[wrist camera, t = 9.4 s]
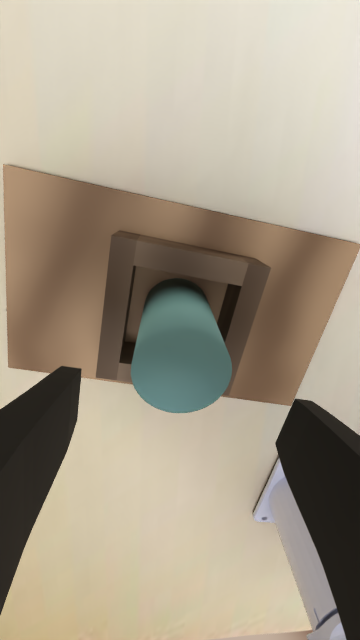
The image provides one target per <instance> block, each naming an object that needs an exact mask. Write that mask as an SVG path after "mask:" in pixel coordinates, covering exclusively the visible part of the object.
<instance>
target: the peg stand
mask: <svg viewBox="0 0 360 640" xmlns="http://www.w3.org/2000/svg"><path fill="white" fill-rule="evenodd" d="M3 181H4V219H5V258H6V297H7V336H8V367H9V368H16V369H23V370H31V371H38V372H46V373H52V372H53V371H55V370H56V369H57V368H59V367H60V366H67V367H74V368H81V369H82V370H81V377H82V378H90V379H97V380H104V381H112V382H119V383H127V384H133V383H132V378H131V364H132V360H133V355H134V350H135V346H136V341H137V336H138V332H139V327H140V322H141V318H142V313H143V308H144V304H145V300H146V297H147V295H148V293H149V292H150V291H151V289H152V288H153V287H154V286H156V285H157V284H158V283H160V282H162V281H164V280H167V279H172V278H181V279H186V280H189V281H191V282H193V283H195V284H196V285H197V286H199V287H200V288H201V289H202V291H203V292H204V294H205V296H206V298H207V301H208V303H209V306H210V308H211V311H212V313H213V316H214V318H215V321H216V323H217V326H218V328H219V331H220V333H221V336H222V338H223V341H224V343H225V346H226V348H227V351H228V353H229V356H230V358H231V363H232V375H231V379H230V382H229V385H228V387H227V388H226V390H225V391H224V393H223V394H222V395H221V396H222V397H230V398H237V399H244V400H252V401H259V402H266V403H274V404H281V405H289V406H291V404H292V402H293V400H294V398H295V395H296V393H297V391H298V388H299V386H300V384H301V382H302V379H303V377H304V375H305V372H306V370H307V368H308V366H309V363H310V361H311V359H312V356H313V354H314V352H315V350H316V347H317V345H318V343H319V340H320V338H321V336H322V334H323V331H324V329H325V327H326V324H327V322H328V320H329V318H330V315H331V313H332V311H333V309H334V306H335V304H336V302H337V299H338V297H339V295H340V293H341V290H342V288H343V286H344V283H345V281H346V279H347V277H348V274H349V272H350V270H351V267H352V265H353V263H354V261H355V258H356V256H357V254H358V251H359V249H360V244H357V243H352V242H348V241H344V240H339V239H335V238H330V237H326V236H321V235H317V234H312V233H308V232H303V231H299V230H294V229H290V228H286V227H281V226H277V225H272V224H268V223H263V222H259V221H254V220H250V219H245V218H241V217H236V216H232V215H228V214H223V213H219V212H214V211H210V210H205V209H201V208H196V207H192V206H187V205H183V204H178V203H174V202H170V201H165V200H161V199H156V198H152V197H147V196H143V195H138V194H134V193H129V192H125V191H120V190H116V189H111V188H107V187H103V186H98V185H94V184H89V183H85V182H80V181H76V180H71V179H67V178H62V177H58V176H53V175H49V174H45V173H40V172H36V171H31V170H27V169H22V168H18V167H13V166H9V165H4V164H3Z"/></svg>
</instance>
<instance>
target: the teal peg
mask: <svg viewBox="0 0 360 640" xmlns="http://www.w3.org/2000/svg"><path fill="white" fill-rule="evenodd" d="M231 375H232V363H231V358H230V356H229V353H228V351H227V348H226V346H225V343H224V341H223V338H222V336H221V333H220V331H219V328H218V326H217V323H216V321H215V318H214V316H213V313H212V311H211V308H210V306H209V303H208V301H207V298H206V296H205V294H204V292H203V291H202V289H201V288H200V287H199V286H197V285H196V284H195V283H193V282H191V281H189V280H186V279H181V278H172V279H167V280H164V281H162V282H160V283H158V284H157V285H156V286H154V287H153V288H152V289H151V291H150V292H149V293H148V295H147V297H146V300H145V304H144V308H143V313H142V318H141V322H140V327H139V332H138V336H137V341H136V346H135V350H134V355H133V360H132V364H131V378H132V383H133V385H134V388H135V389H136V391H137V393H138V394H139V395H140V396H141V398H142V399H144V400H145V401H146V402H147V403H148V404H150V405H152V406H153V407H155V408H157V409H160V410H163V411H166V412H172V413H188V412H193V411H197V410H200V409H203V408H205V407H207V406H209V405H210V404H212V403H214V402H215V401H216V400H217V399H218V398H219V397H220V396H221V395H222V394H223V393H224V391H225V390H226V388H227V387H228V385H229V382H230V379H231Z"/></svg>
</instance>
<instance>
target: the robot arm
mask: <svg viewBox="0 0 360 640" xmlns="http://www.w3.org/2000/svg"><path fill="white" fill-rule="evenodd" d="M81 370H82V369H81V368H74V367H67V366H60V367H59V368H57V369H56V370H55V371H53V372H52V373H51V374H49V375H48V376H47V377H45V378H44V379H43V380H41V381H40V382H39V383H37V384H36V385H34V386H33V387H32V388H30V389H29V390H28V391H26V392H25V393H23V394H22V395H20V396H19V397H18V398H16V399H15V400H13V401H12V402H10V403H9V404H8V405H6V406H5V407H3V408H2V409H0V615H1V612H2V609H3V606H4V603H5V600H6V597H7V594H8V592H9V589H10V586H11V583H12V580H13V578H14V575H15V572H16V569H17V567H18V564H19V561H20V558H21V555H22V553H23V550H24V547H25V545H26V542H27V540H28V538H29V535H30V533H31V530H32V528H33V526H34V523H35V521H36V519H37V517H38V515H39V512H40V510H41V508H42V506H43V503H44V501H45V499H46V497H47V495H48V492H49V490H50V488H51V486H52V484H53V481H54V479H55V477H56V475H57V472H58V470H59V468H60V466H61V463H62V461H63V459H64V457H65V454H66V452H67V450H68V447H69V443H70V440H71V437H72V434H73V431H74V428H75V425H76V422H77V415H78V404H79V393H80V382H81ZM275 444H276V447H277V451H278V455H279V458H278V460H277V463H276V465H275V467H274V469H273V471H272V474H271V476H270V478H269V480H268V482H267V484H266V487H265V489H264V491H263V493H262V495H261V498H260V500H259V502H258V504H257V506H256V509H255V511H254V513H253V518H254V520H255V521H259V522H272V523H275V524H276V527H277V530H278V533H279V536H280V538H281V541H282V544H283V547H284V550H285V553H286V556H287V558H288V561H289V564H290V567H291V570H292V573H293V576H294V578H295V581H296V584H297V587H298V590H299V593H300V596H301V598H302V601H303V604H304V607H305V610H306V613H307V616H308V618H309V621H310V624H311V627H312V630H313V632H312V633H310V634H308V635H307V639H308V640H360V436H359V435H358V434H357V433H355V432H354V431H353V430H351V429H350V428H349V427H347V426H346V425H345V424H343V423H342V422H341V421H339V420H338V419H337V418H335V417H334V416H333V415H331V414H330V413H329V412H327V411H326V410H324V409H323V408H321V407H320V406H318V405H317V404H315V403H314V402H312V401H308V400H301V399H295V400H294V402H293V404H292V407H291V409H290V411H289V413H288V416H287V418H286V420H285V422H284V425H283V427H282V429H281V432H280V434H279V436H278V438H277V441H276V443H275Z"/></svg>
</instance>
